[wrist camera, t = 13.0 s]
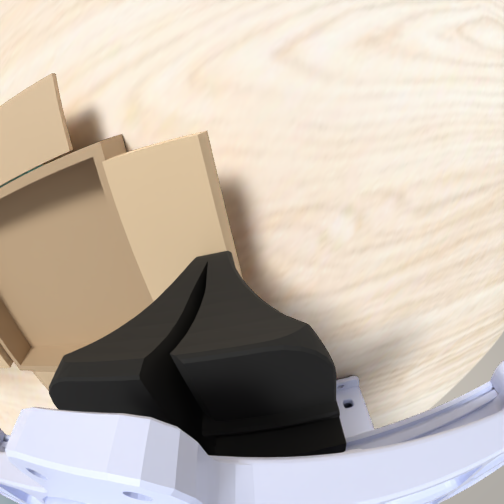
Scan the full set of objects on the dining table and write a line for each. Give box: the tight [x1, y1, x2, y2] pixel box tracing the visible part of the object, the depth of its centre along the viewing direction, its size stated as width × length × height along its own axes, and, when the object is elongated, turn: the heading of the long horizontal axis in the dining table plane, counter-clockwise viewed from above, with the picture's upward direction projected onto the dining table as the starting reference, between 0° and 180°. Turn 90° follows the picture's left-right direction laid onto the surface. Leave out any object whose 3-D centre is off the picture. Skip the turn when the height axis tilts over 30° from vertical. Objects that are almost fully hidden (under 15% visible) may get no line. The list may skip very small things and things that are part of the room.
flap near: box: [102, 131, 243, 301], centre depth 12 cm, size 1×10×4 cm
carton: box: [0, 73, 154, 391], centre depth 14 cm, size 14×19×2 cm
